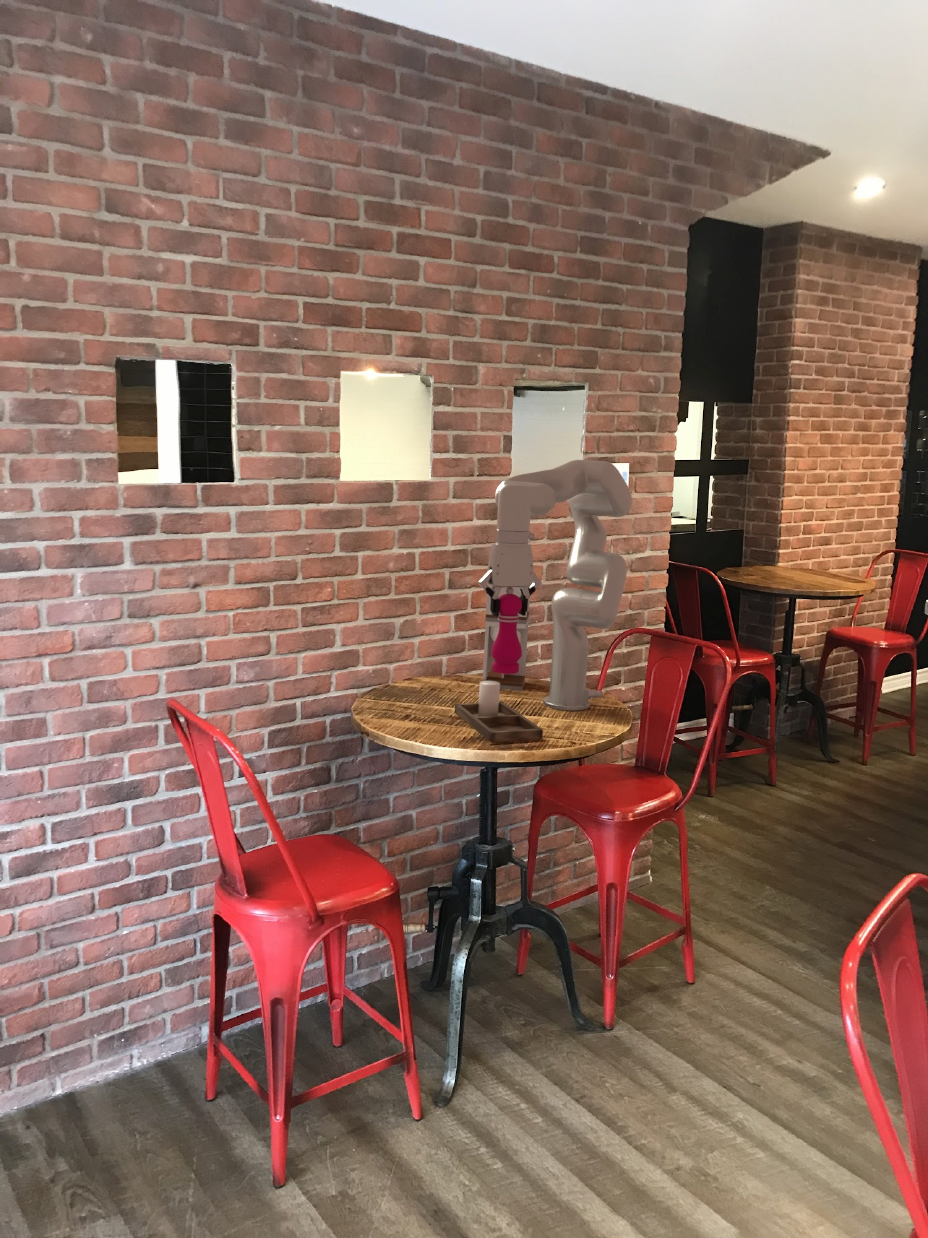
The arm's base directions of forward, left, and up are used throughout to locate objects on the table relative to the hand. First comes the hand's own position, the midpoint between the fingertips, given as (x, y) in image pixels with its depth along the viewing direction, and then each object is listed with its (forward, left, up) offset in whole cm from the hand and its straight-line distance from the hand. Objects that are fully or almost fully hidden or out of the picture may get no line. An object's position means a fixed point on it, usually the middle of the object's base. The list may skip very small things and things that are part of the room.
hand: (508, 614), depth 229 cm
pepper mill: (0, 0, -14) cm, 14 cm away
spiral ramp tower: (-19, -46, -29) cm, 58 cm away
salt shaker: (-1, -11, -28) cm, 31 cm away
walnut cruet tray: (-1, -5, -29) cm, 30 cm away
